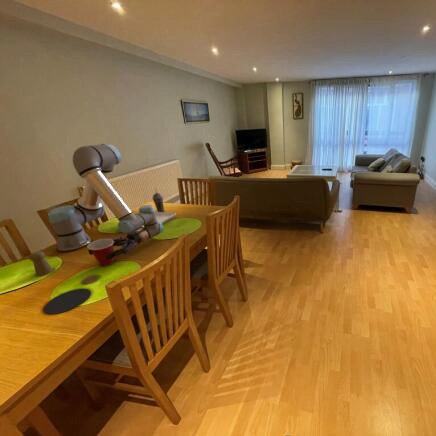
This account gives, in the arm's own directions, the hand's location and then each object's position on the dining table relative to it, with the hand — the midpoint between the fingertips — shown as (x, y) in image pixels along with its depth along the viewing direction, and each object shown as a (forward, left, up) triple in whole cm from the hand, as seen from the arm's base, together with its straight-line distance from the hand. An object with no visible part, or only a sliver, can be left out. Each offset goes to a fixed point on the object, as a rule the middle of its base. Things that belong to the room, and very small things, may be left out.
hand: (97, 255), depth 120 cm
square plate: (-27, +48, -7) cm, 55 cm away
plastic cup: (0, +3, -7) cm, 7 cm away
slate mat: (+14, -21, -7) cm, 26 cm away
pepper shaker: (-21, -14, -7) cm, 26 cm away
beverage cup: (-39, +68, -7) cm, 79 cm away
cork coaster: (+7, -9, -7) cm, 13 cm away
